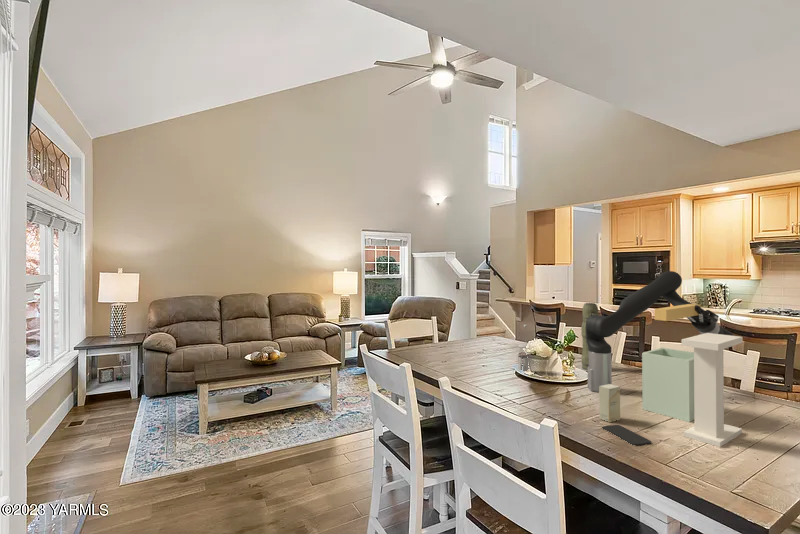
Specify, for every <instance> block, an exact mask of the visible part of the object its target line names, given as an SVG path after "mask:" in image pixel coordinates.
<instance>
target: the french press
mask: <svg viewBox="0 0 800 534" xmlns="http://www.w3.org/2000/svg"><path fill="white" fill-rule="evenodd" d="M523 327H524V328H525V329H524V331H525V342H523V343H520V344H517V348H520V349H523V350H519V351H518V356H517V359H518V363H517V364H518V369H519V370H522V367H523V371H527V370H528V369H529V368H528V366H529V365H528V358H527V355H526V353H525V352H526V351H525V350H524V349H527V348H526V346H527V343H528V342H527V335H526V334H527V333H526V332H527V328H528V324H523ZM518 369H517V370H518Z"/></svg>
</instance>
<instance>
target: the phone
mask: <svg viewBox="0 0 800 534" xmlns="http://www.w3.org/2000/svg"><path fill="white" fill-rule="evenodd" d="M602 428H603V429H602ZM601 429H602V430H604V429H605V430H607V431H609V432H611V433H612V434H611V433H610V434H611V435H613V434H614V435H616V436H618V437H620V438H621V439H620V438H619V439H620V440H622V439H623V440H625V441H627V442H628V443H627V442H626V443H627V444H629V443H630V444H629V445H631V444H632V445H631V446H633V445H640V446H646V445H645V444H647V445H652V444H651V443H652V441H651V440H650V439H648V438H647V437H644V436H642V435H640V434H638V433H636V432H634V431H632V430H630V429H628V428H626V427H624V426H622V425H619V424H613V425H612V424H611V425H605V426H602V427H601ZM605 430H604V431H605ZM607 431H606V432H607ZM609 432H608V433H609ZM614 435H613V436H614ZM616 436H615V437H616ZM618 437H617V438H618ZM623 440H622V441H623ZM625 441H624V442H625Z"/></svg>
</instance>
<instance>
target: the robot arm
mask: <svg viewBox="0 0 800 534" xmlns="http://www.w3.org/2000/svg"><path fill="white" fill-rule="evenodd" d="M682 284H683V278H682V276H681V275H680V274H679V273H678V272H676V271H673V270H669V271H667V270H666V271H664V272H662V273H660V275H659V276H658V277H657V278H655V279H654V280H653V281H652V282H651V283H649V284H647V285H645V286H643V287H641V288H639V289H638V290H636V291H634V292H632V293H631V294H629V295H627V296H626V297H624V298H623V299H622V301H620V304H619V306H618V309H617V310H615V311H614V312H612V313H611V314H609V315H606V316H605V315H600V314H598V315H592V316H590V317H589V318H588V319H587V322H586V341H587V345H588V348H589V366H588V370H587V388H588V389H589V391H590V392H596V393H599V386H602V385H606V384H612V383H613V382H612V380H613V379H612V378H613V373H612V370H613V369H612V365H613V363H612V361H613V360H612V346H611V344H609V343H608V342H607V341H606V339H605V338H610V337H612V336H613V335H614V334H616V332H619V330H620V329H621V328H622V327H624V326H625V325H626V324H627V323H629V322H630V321H632V320H634V319H635V318H636V317H637V316H639V315H641V314H642V313H644V312H645V311H647V310H648V309H650V307H652V306H653V305H654V304H656V302H657V301H658V300H659V299H660V298H663V299H664V300H666V301H667V302H668V303H669V304H670V305H672V306H679V305H686V304H693V302H692V303H691V302H690V301H688V300H686V299H684V298H683V297H681V295H679V293H678V292H677V290H678V289H679V288H680V287H681V285H682ZM698 305H699V304H697V305H695V311H696V312H697V313H698V314H699V315H697V316H691V317H686V318H685V319H687V320H689V321H690V323H691V325H692V326H693V327H694V328H695V330H696V331H698V332H699V334H700V335H701V334H705V333H713V334H722V335H731V336H735V335H734V333H732V332H731V331H729V330H728V329H726V328H724V327H722V326H721V325H720V324H719V323H718V321H719V317H720V316H719V315H718V314H717V313H715V312H713V311H712V310H709V309H706V310H705V309H704V308H702V307H699V306H698ZM680 319H684V318H680ZM612 385H613V384H612Z"/></svg>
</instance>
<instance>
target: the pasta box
mask: <svg viewBox="0 0 800 534" xmlns="http://www.w3.org/2000/svg"><path fill="white" fill-rule="evenodd" d="M695 305H698V306H699V307H701V305H702V304H694V303H692V304H686V305H679V306H673V305H672V306H666V307H659V308H654V320H655V321H662V322H663V321H664V322H669V321H674V320H679V319H681V318H683V319H684V318H685V319H687V318H686V317H691V316H697V315H699V314H698V313H697V312H696V311H695ZM701 308H702V307H701Z"/></svg>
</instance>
